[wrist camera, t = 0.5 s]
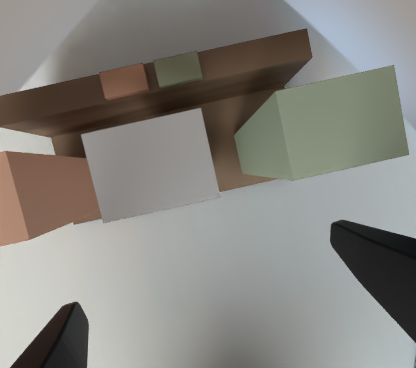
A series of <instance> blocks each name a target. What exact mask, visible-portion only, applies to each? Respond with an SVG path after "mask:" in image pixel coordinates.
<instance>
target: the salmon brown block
mask: <svg viewBox="0 0 416 368" xmlns="http://www.w3.org/2000/svg"><path fill="white" fill-rule="evenodd" d="M98 211H100V208H99V204H98V200H97V196H96V192H95V188H94V184H93V181H92V177H91V173H90V169H89V165H88V161H87V158H78V157H67V156H55V155H44V154H32V153H21V152H10V151H4V152H0V246H4V245H9V244H13V243H18V242H22V241H27V240H30V239H33V238H35V237H38V236H40V235H43V234H45V233H47V232H50V231H52V230H55V229H57V228H59V227H62V226H64V225H67V224H69V223H72V222H74V221H76V220H79V219H81V218H84V217H86V216H89V215H91V214H93V213H96V212H98Z"/></svg>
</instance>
